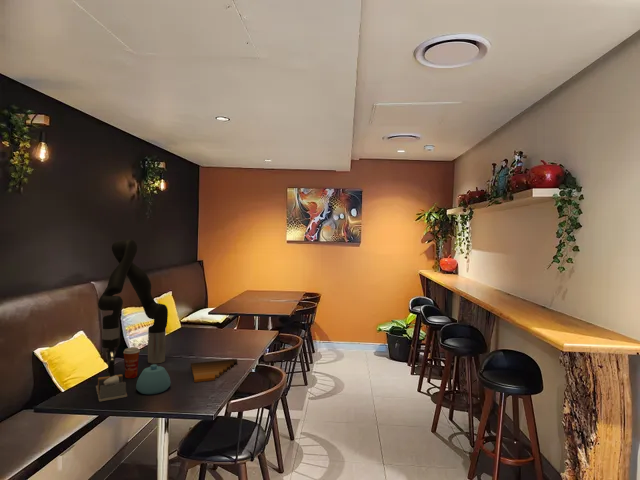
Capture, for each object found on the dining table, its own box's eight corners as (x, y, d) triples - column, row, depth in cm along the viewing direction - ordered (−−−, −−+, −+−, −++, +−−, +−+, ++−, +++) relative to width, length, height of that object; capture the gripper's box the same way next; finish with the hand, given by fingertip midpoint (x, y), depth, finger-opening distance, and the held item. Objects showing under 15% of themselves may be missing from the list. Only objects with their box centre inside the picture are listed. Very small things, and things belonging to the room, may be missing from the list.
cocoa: (114, 394, 182) (115, 368, 182) (99, 394, 182) (100, 368, 181) (123, 386, 192) (123, 361, 191) (109, 385, 191) (110, 360, 191)
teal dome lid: (160, 381, 202) (160, 358, 202) (176, 389, 192) (177, 364, 192) (130, 390, 190) (130, 365, 190) (146, 398, 181) (146, 372, 180)
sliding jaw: (97, 388, 188) (98, 377, 188) (121, 384, 194) (121, 374, 194) (98, 390, 186) (98, 379, 186) (122, 386, 192) (122, 375, 191)
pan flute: (236, 364, 233) (190, 368, 224) (236, 358, 233) (190, 362, 224) (244, 378, 210) (194, 383, 201) (244, 371, 210) (194, 377, 201)
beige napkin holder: (95, 387, 192) (96, 374, 192) (121, 383, 198) (121, 371, 198) (99, 401, 176) (99, 387, 176) (127, 396, 182) (127, 383, 182)
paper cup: (121, 379, 203) (121, 351, 203) (124, 374, 211) (124, 347, 211) (138, 378, 205) (138, 350, 205) (140, 373, 213) (141, 346, 213)
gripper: (100, 335, 201) (100, 369, 201) (103, 341, 190) (103, 378, 190) (117, 333, 205) (117, 367, 205) (121, 338, 194) (121, 375, 194)
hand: (110, 372), depth 198 cm, fingers closed
